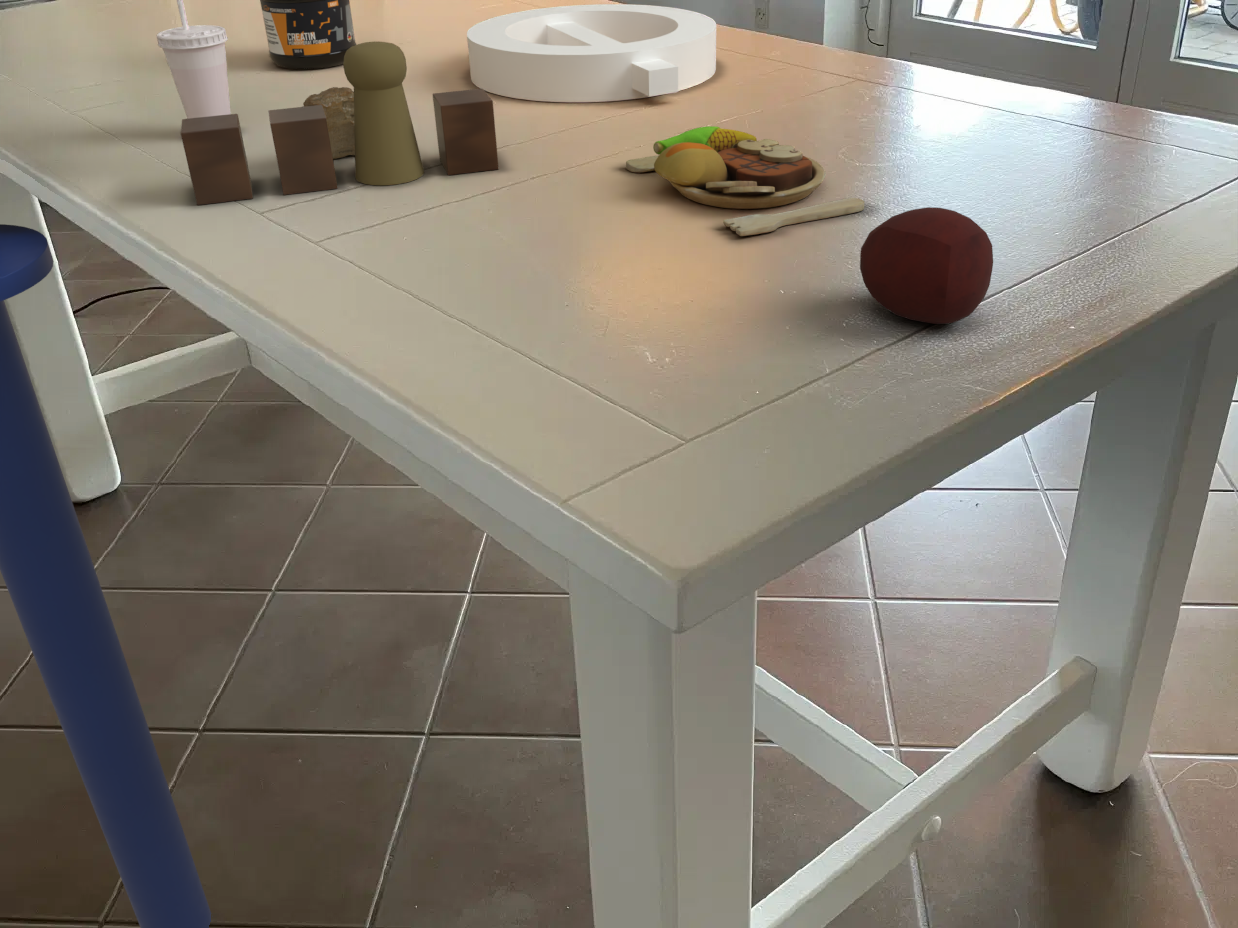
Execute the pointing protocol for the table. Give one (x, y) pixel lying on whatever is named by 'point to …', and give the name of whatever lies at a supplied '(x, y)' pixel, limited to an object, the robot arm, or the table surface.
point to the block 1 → (216, 159)
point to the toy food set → (742, 176)
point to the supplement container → (308, 32)
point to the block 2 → (303, 149)
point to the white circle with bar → (592, 52)
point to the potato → (928, 265)
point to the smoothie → (198, 66)
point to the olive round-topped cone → (381, 115)
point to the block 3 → (465, 131)
